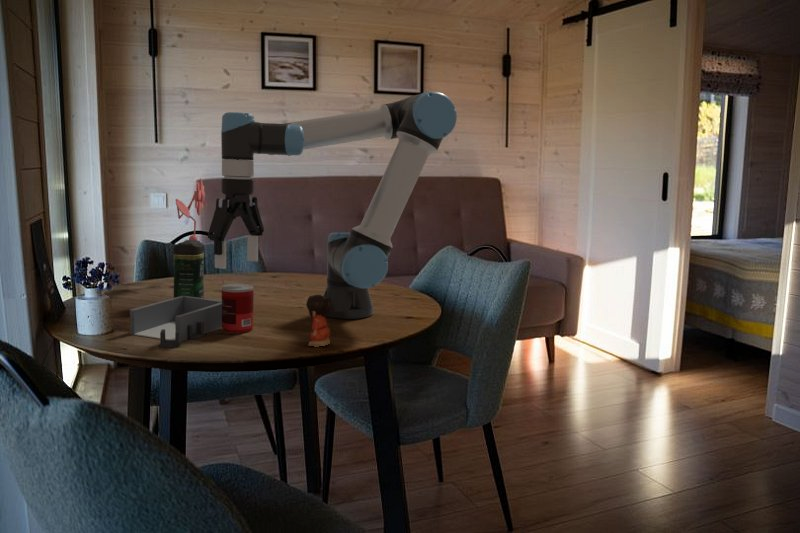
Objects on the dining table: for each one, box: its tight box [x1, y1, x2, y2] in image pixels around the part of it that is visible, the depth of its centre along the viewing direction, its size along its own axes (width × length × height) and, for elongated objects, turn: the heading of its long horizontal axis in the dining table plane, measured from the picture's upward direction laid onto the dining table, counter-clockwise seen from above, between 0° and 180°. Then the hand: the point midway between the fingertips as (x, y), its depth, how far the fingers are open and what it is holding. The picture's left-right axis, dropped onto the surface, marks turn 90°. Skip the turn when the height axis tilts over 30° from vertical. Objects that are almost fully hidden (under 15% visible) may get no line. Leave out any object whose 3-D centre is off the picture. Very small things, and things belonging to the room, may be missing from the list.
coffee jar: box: [173, 239, 205, 298], centre depth 191 cm, size 10×8×19 cm
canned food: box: [221, 283, 255, 334], centre depth 166 cm, size 8×8×11 cm
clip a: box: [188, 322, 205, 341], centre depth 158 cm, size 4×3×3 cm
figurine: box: [305, 294, 334, 348], centre depth 156 cm, size 6×6×12 cm
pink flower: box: [175, 178, 225, 286], centre depth 221 cm, size 15×26×35 cm, turn 7°
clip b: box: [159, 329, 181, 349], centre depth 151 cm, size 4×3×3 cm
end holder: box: [129, 296, 222, 343], centre depth 164 cm, size 14×19×6 cm
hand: (237, 264), depth 164 cm, fingers open, 13 cm apart
